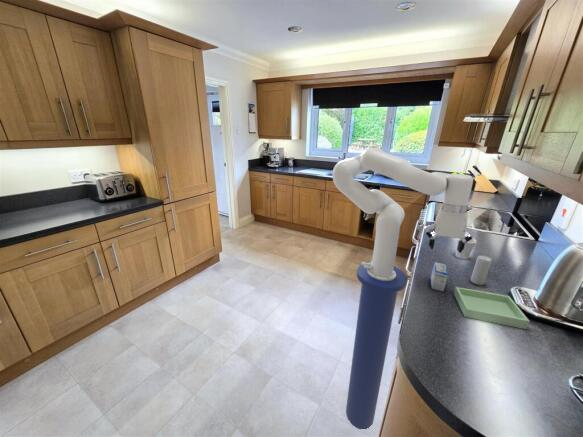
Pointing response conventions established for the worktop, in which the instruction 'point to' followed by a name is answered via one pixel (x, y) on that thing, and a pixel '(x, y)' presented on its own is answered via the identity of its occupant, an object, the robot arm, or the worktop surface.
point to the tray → (490, 307)
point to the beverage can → (481, 270)
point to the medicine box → (439, 276)
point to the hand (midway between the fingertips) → (444, 249)
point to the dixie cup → (465, 249)
